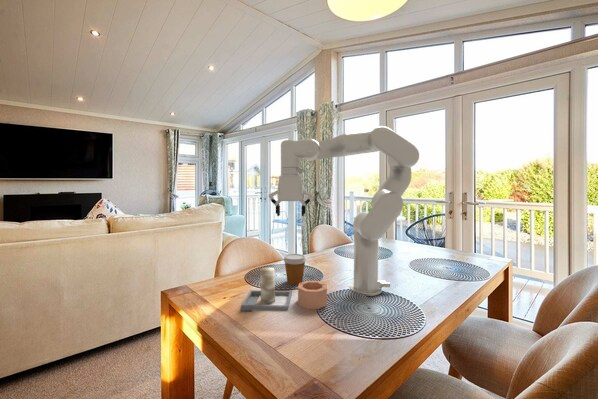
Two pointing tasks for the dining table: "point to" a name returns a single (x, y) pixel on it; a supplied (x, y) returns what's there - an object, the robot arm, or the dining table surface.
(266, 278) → the peg
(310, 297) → the terracotta octagonal pot
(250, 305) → the tray
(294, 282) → the disposable coffee cup
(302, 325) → the dining table surface
